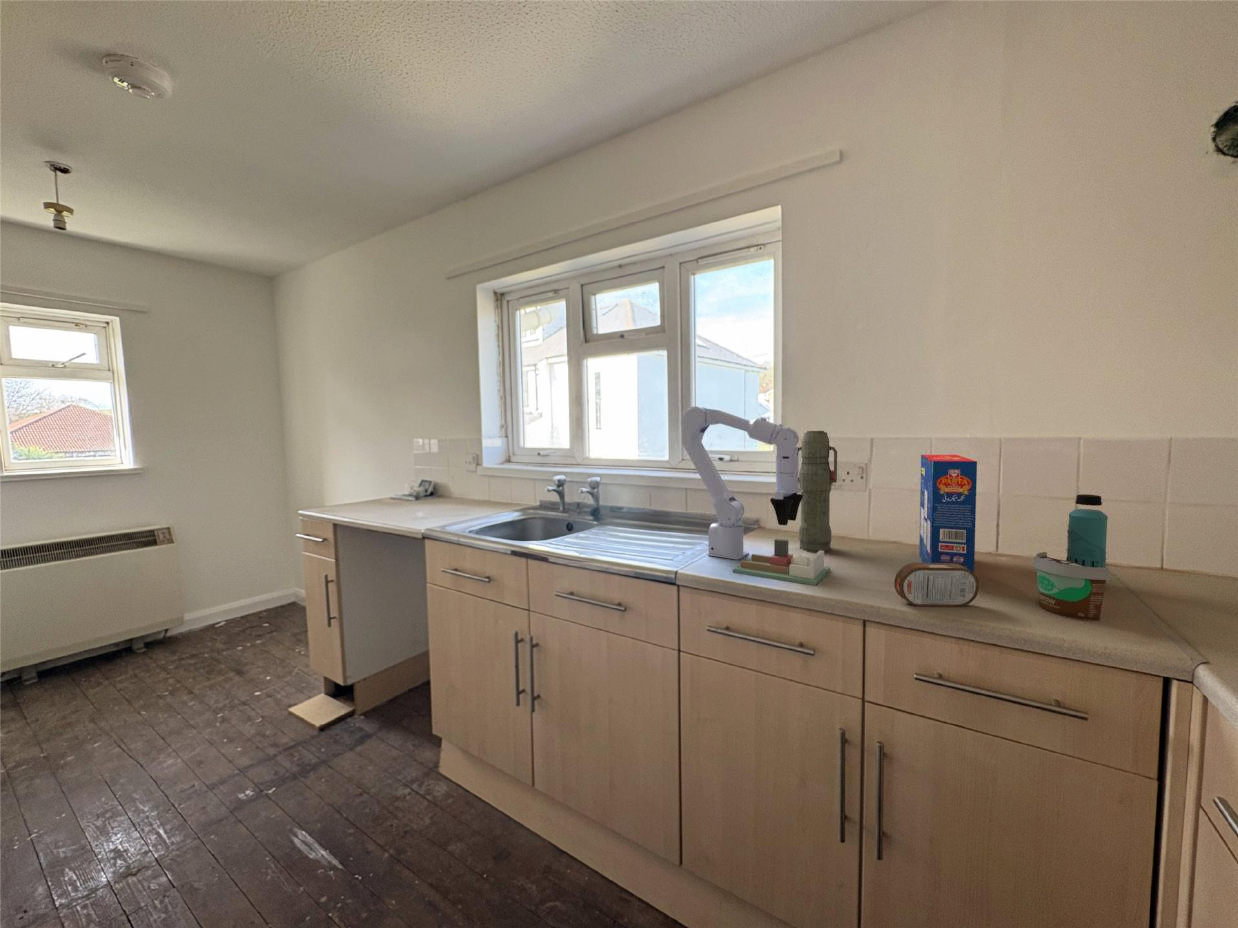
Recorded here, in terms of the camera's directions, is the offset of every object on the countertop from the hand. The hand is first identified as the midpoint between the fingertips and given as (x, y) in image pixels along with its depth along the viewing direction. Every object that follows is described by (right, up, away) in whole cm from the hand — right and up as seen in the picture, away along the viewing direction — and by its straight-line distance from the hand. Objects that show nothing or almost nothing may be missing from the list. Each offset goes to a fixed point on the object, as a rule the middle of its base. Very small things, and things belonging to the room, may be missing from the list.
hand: (787, 522), depth 131 cm
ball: (-1, -8, -12) cm, 15 cm away
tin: (+18, -13, -34) cm, 41 cm away
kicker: (-5, -11, -9) cm, 15 cm away
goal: (0, -11, -13) cm, 17 cm away
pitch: (-5, -11, -9) cm, 15 cm away
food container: (+38, -12, -39) cm, 56 cm away
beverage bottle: (+58, -11, -24) cm, 63 cm away
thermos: (+13, -10, +13) cm, 20 cm away
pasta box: (+35, -11, -10) cm, 38 cm away
